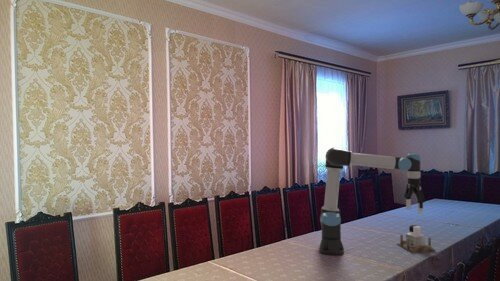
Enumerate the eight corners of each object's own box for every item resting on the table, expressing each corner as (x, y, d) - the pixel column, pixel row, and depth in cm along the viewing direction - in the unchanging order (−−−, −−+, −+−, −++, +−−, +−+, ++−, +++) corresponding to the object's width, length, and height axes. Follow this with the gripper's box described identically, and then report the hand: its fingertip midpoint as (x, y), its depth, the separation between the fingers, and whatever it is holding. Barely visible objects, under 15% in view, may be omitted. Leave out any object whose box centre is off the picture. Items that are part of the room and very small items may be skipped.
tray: (410, 252, 211) (409, 239, 211) (397, 244, 227) (396, 233, 227) (435, 251, 212) (434, 239, 212) (420, 243, 228) (420, 232, 228)
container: (405, 245, 222) (405, 225, 222) (415, 244, 224) (415, 224, 225) (415, 248, 215) (414, 227, 215) (424, 247, 217) (424, 226, 217)
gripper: (431, 179, 208) (431, 215, 208) (409, 176, 233) (409, 207, 232) (419, 179, 207) (419, 215, 207) (398, 176, 232) (398, 207, 232)
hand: (414, 211), depth 220 cm, fingers open, 13 cm apart
